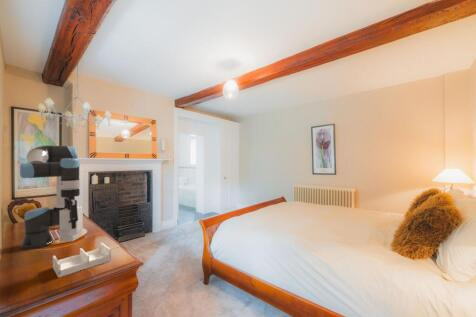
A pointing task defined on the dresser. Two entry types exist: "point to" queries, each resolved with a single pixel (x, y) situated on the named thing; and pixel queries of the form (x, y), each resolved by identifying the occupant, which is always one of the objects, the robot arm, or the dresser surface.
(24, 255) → the dresser surface
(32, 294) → the dresser surface
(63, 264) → the caddy rack
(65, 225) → the skincare box
